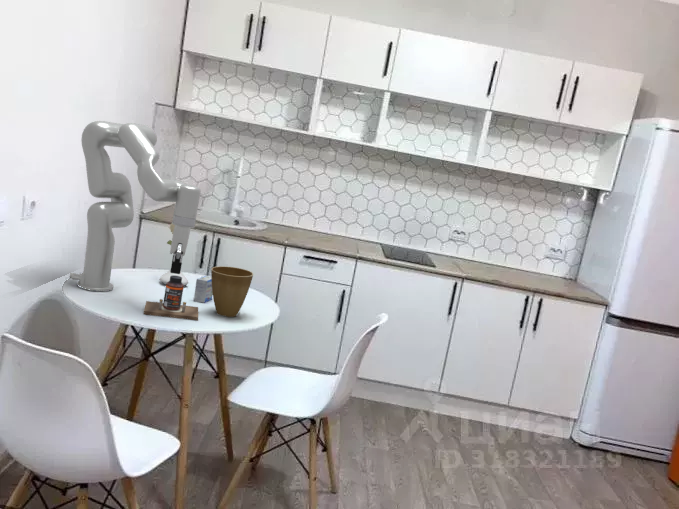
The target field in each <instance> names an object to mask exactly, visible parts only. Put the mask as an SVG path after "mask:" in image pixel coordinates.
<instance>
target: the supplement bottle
mask: <svg viewBox="0 0 679 509" xmlns="http://www.w3.org/2000/svg"><path fill="white" fill-rule="evenodd" d="M181 281H182V277H180V276H170V281H169V282H167V283H166V284H165V290H164V296H163V307H164V308H165V309H167V310H179V309H180V307H181V305H182V300H183V294H184V293H183V292H184V286H185V285H183V284H182V282H181Z"/></svg>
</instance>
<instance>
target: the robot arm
mask: <svg viewBox="0 0 679 509" xmlns="http://www.w3.org/2000/svg"><path fill="white" fill-rule="evenodd" d="M82 131H83V132H82V134H81V140H80V142H81V146H82V147H81V148H82V151H83V155H84V160H85V168H86V169H85V170H86V178H87V186H88V191H89V194H90V195H91V196H92V197H93V198H97V199H110V201H99V202H98V201H97V202H94V203H93V204H91V205H90V206H88V209H87V213H86V220H87V237H86V245H85V246H86V248H85V255H84V262H83V264H84V265H83V271H82V273H80V272H79V274H78V273H73V272H70V274H69V279H72V280H75V281H76V280H77V284H78V285H79V286H81V287H83V288H86V289H90V290H89V291H91V290H96V291H95V292H108V291H109V290H110V291H112V290H113V289H114V284H113V283H111V275H112V266H113V259H114V250H115V244H116V243H115V242H116V241H115V236H114V232H113V229H118V228H119V229H121V228H127V227H129V226H131V224H133V220H134V213H135V211H134V209H135V208H134V200H133V194H132V186H131V182H130V180H129V179H128V177H127V176H126V175H125V174H123V173H120V172H113V170H112V162H111V157H110V156H109V153H108V151H107V150H106V149H105V146H106V147H114V148H124V149H125V151H126V152H127V153H128V155H129V156H130V158H132V161H133V162H134V163H135V165H136V166H137V169H136V171H137V172H136V173H137V179H138V180H137V181H138V182H139V184H140V186H141V187H142V189H143V190H144V192H145V193H146V194H147V195H148V197H149V198H151V199H152V200H153V201H156V202H158V203H161V202H162V203H163V202H167V203H168V202H169V203H175V204H174V210H173V217H172V222H171V224H173V225H175V227H174V232H173V234H172V238H171V241H172V243H171V245H170V251H169V254H170V255H172V254H174V255H172V261H171V266H170V270H171V271H170V270H169V271H170V272H171V273H175V274H180V272H181V269H182V265H183V263H182V261H183V257H184V256H185V254H186V251H187V249H188V243H189V239H190V235H191V230H192V229H195V227H196V221H197V215H198V209H199V205H200V197H201V188H200V187H198V186H196V185H192V184H187V183H185V182H184V181H181V180H178V179H177V180H176V179H169V178H165V179H164V178H161V177H160V176H159V175H158V173H157V172H156V171H155V170H154V166H155V165H156V164H157V163H158V161H159V159H160V153H159V151H158V150H157V148H156V147H155V146H156V144H157V141H158V137H157V133H156V131H155V130H154V128H152V127H151V126H150V125H146V124H140V123H133V122H130V123H127V122H126V123H117V122H111V121H105V120H97V121H91V122H89V123H88V124H86V126H85V128H84V129H83V130H82ZM77 284H76V285H77ZM86 289H85V290H86ZM110 291H109V292H110Z"/></svg>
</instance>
